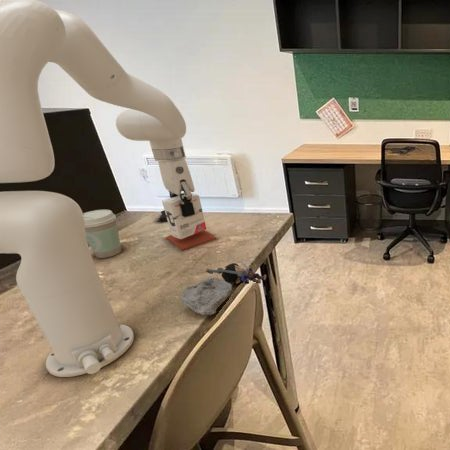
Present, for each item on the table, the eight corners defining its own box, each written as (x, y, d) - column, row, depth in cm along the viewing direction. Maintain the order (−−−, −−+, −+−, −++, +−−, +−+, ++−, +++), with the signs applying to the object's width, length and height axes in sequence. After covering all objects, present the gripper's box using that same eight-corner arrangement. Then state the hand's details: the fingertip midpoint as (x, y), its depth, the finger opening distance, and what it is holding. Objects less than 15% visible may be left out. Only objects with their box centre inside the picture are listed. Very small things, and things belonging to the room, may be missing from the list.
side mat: (216, 239, 107) (216, 237, 107) (182, 250, 100) (181, 248, 100) (199, 228, 114) (198, 226, 114) (166, 238, 107) (165, 236, 107)
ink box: (197, 226, 111) (189, 191, 106) (207, 229, 109) (199, 194, 104) (171, 236, 104) (160, 199, 99) (181, 239, 102) (171, 202, 97)
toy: (262, 258, 83) (208, 250, 86) (252, 282, 80) (196, 273, 83) (272, 267, 88) (220, 259, 91) (262, 291, 85) (209, 281, 88)
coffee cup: (88, 252, 98) (72, 213, 93) (124, 243, 103) (112, 206, 98) (91, 263, 92) (74, 223, 87) (129, 253, 98) (116, 215, 93)
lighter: (178, 211, 125) (163, 215, 125) (175, 206, 124) (160, 210, 124) (173, 220, 119) (157, 225, 118) (170, 215, 118) (154, 220, 117)
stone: (214, 261, 78) (216, 288, 71) (236, 277, 83) (239, 304, 75) (180, 286, 77) (178, 316, 70) (203, 301, 82) (203, 331, 74)
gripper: (197, 156, 94) (210, 216, 101) (171, 147, 103) (185, 202, 111) (166, 161, 88) (183, 224, 96) (142, 150, 98) (159, 209, 105)
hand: (184, 212), depth 103 cm, fingers closed on ink box, 5 cm apart
